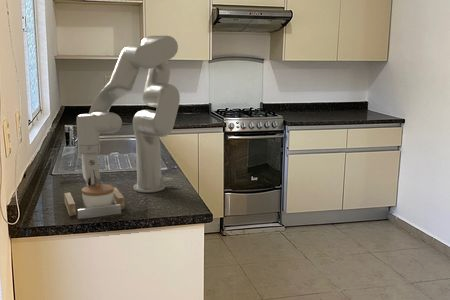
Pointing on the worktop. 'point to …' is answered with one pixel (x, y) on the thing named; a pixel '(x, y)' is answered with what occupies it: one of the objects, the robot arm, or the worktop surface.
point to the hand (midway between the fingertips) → (91, 198)
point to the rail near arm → (118, 198)
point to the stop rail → (99, 211)
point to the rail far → (70, 204)
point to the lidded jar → (97, 195)
